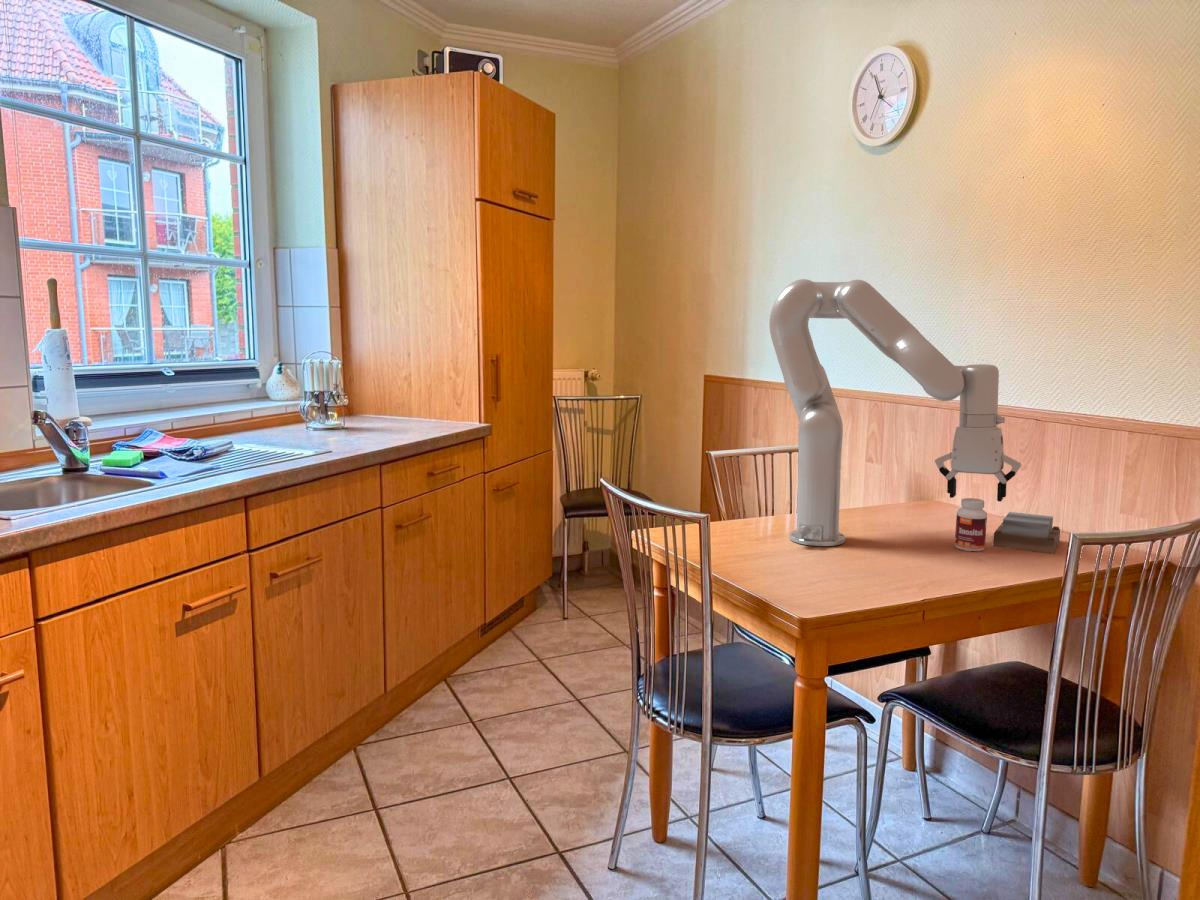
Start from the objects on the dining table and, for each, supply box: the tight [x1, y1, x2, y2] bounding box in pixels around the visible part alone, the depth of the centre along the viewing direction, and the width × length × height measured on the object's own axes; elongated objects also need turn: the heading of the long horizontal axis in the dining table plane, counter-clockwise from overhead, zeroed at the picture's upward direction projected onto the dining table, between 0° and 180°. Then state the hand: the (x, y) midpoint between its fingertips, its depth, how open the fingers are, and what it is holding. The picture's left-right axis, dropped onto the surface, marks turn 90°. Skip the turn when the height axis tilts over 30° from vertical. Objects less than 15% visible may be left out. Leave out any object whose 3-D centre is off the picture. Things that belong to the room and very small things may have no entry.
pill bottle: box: [954, 497, 988, 552], centre depth 181 cm, size 6×6×11 cm
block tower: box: [992, 511, 1061, 555], centre depth 185 cm, size 12×12×6 cm
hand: (976, 498), depth 180 cm, fingers open, 9 cm apart
